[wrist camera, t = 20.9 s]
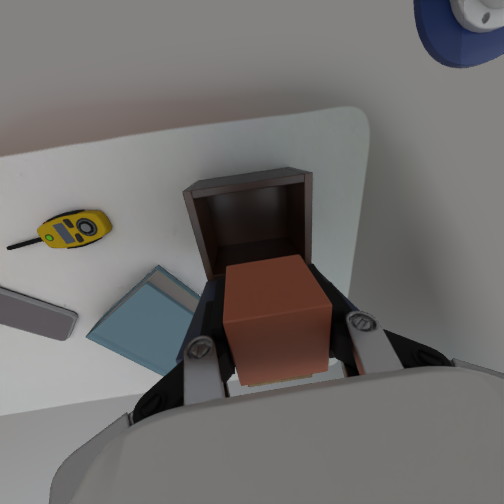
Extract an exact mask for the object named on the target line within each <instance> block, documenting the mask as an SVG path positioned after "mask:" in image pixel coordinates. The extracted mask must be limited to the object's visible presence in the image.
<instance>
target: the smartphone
mask: <svg viewBox="0 0 504 504" xmlns="http://www.w3.org/2000/svg"><path fill="white" fill-rule="evenodd" d="M76 320H77V315H76V314H75V313H73V312H71V311H68V310H65V309H62V308H59V307H56V306H53V305H50V304H47V303H44V302H41V301H38V300H35V299H32V298H29V297H26V296H23V295H20V294H17V293H14V292H11V291H8V290H5V289H2V288H0V324H2V325H6V326H9V327H13V328H16V329H20V330H23V331H27V332H30V333H34V334H37V335H41V336H44V337H48V338H51V339H55V340H59V341H65V340H67V339H68V337H69V336H70V335H71V332H72V330H73V327H74V325H75V323H76Z"/></svg>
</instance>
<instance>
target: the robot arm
mask: <svg viewBox="0 0 504 504" xmlns="http://www.w3.org/2000/svg"><path fill="white" fill-rule="evenodd" d="M450 4H451V9H452V12H453V14H454V16H455V18H456V20H457V21H458V22H459V23H460V25H461V26H462V27H463V28H465V29H467V30H469V31H471V32H476V33H484V32H490V31H493V30H496V29H498V28H501V27H503V26H504V0H450ZM307 267H308V268H309V270H310V272H311V273H312V275H313V276H314V278H315V279H316V281H317V282H318V284H319V285H320V287H321V288H322V290H323V291H324V293H325V294H326V296H327V297H328V299H329V301H330V302H331V304H332V316H331V331H330V347H329V358H334V357H335V358H336V359H338V360H340V361H341V366H342V370H343V373H344V377H345V378H341V379H335V380H329V381H323V382H317V383H310V384H304V385H298V386H292V387H286V388H281V389H274V390H268V391H263V392H257V393H251V394H245V395H239V396H234V397H230V393H229V388H228V384H227V381H228V380H229V378H230V377H231V376H232V374H235V363H234V360H233V357H232V353H231V350H230V346H229V343H228V339H227V336H226V332H225V329H224V325H223V312H224V297H225V282H226V277H224V278H218V279H217V281H216V288H215V296H214V300H212V301H207V302H206V305H205V311H204V316H203V321H202V327H201V332H200V336H198V337H196V338H194V339H192V340H191V341H190V342H189V343H188V344H187V346H186V348H185V350H184V359H183V360H182V361H181V362H180V363H179V364H177V365H176V366H175V367H174V368H173V369H172V370H171V371H170V372H169V373H167V374H166V375H165V376H164V377H163V378H162V379H161V380H160V381H159V382H157V383H156V384H155V385H154V386H153V387H152V388H151V389H150V390H149V391H147V392H146V393H145V394H144V395H143V396H142V397H141V398H140V400H139V401H138V403H137V404H136V406H135V408H134V410H133V411H132V412H131V413H129V414H128V413H127V412H126V413H125V414H124V415H122V416H121V417H120V418H118V419H117V420H116V421H114V422H113V423H112V424H110V425H109V426H108V427H106V428H105V429H104V430H102V431H101V432H100V433H98V434H97V435H96V436H94V437H93V438H92V439H91V440H89V441H88V442H87V443H85V444H84V445H82V446H81V447H80V448H78V449H77V450H76V451H74V452H73V453H72V454H71V455H70V456H69V457H68V458H67V459H66V460H65V461H64V462H63V464H62V465H61V466H60V467H59V469H58V470H57V472H56V474H55V476H54V478H53V480H52V484H51V488H50V498H49V504H504V373H501V372H497V371H494V370H491V369H487V368H484V367H481V366H477V365H474V364H471V363H467V362H464V361H461V360H458V359H454V358H453V359H452V361H451V360H448V359H447V358H446V357H445V356H444V355H443V354H442V353H440V352H438V351H437V350H435V349H433V348H431V347H428V346H426V345H423V344H420V343H418V342H415V341H413V340H410V339H408V338H405V337H403V336H400V335H397V334H395V333H392V332H390V331H387V330H384V329H382V327H381V325H380V323H379V321H378V320H377V319H376V318H375V317H374V316H372V315H371V314H369V313H366V312H363V311H353V310H352V309H351V307H350V306H349V305H348V304H347V302H346V301H345V300H344V298H343V297H342V296H341V294H340V293H339V292H338V290H337V289H336V288H335V286H334V285H333V284H332V283H331V282H326V281H325V279H324V278H323V276H322V275H321V274H320V272H319V271H318V270H317V268H316V267H315V265H314V264H307Z"/></svg>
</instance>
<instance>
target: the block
mask: <svg viewBox="0 0 504 504" xmlns="http://www.w3.org/2000/svg"><path fill="white" fill-rule="evenodd" d="M331 316H332V304H331V302H330V301H329V299H328V297H327V296H326V294H325V293H324V291H323V290H322V288H321V287H320V285H319V284H318V282H317V281H316V279H315V278H314V276H313V275H312V273H311V272H310V270H309V268H308V267H307V265H306V264H305V262H304V261H303V259H302V258H301V256H300V255H299V254H298V255H291V256H285V257H279V258H273V259H267V260H261V261H255V262H249V263H243V264H236V265H230V266H227V267H226V282H225V297H224V312H223V325H224V329H225V332H226V336H227V339H228V343H229V346H230V350H231V353H232V357H233V360H234V363H235V367H236V370H237V374H238V377H239V381H240V383H241V386H244V385H250V384H255V383H261V382H267V381H273V380H279V379H285V378H291V377H296V376H302V375H308V374H314V373H320V372H326V371H328V362H329V347H330V331H331Z"/></svg>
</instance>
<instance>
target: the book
mask: <svg viewBox="0 0 504 504" xmlns="http://www.w3.org/2000/svg"><path fill="white" fill-rule="evenodd" d="M200 298H201V297H200V296H199V295H197V294H196V293H195V292H193V291H192V290H191V289H189V288H188V287H187V286H185V285H184V284H183V283H182V282H180V281H179V280H178V279H176V278H175V277H174V276H172V275H171V274H170V273H168V272H167V271H166V270H164V269H163V268H162V267H161V266H159V265H158V266H157V267H156V268H155V269H154V270H153V271H152V272H151V273H149V274H148V275H147V276H146V277H145V278H144V279H143V280H142V281H141V282H140V283H138V284H137V285H136V286H135V287H134V288H133V289H132V290H131V291H130V292H129V293H127V294H126V295H125V296H124V297H123V298H122V299H121V300H120V301H119V302H118V303H116V304H115V305H114V306H113V307H112V308H111V309H110V310H109V311H108V312H107V313H105V314H104V315H103V317H102V318H101V319H100V320H99V321H98V322H97V323H96V324H95V326H94V327H93V328H92V329H91V331H90V332H89V333H88V334H87V335H86V338H88V339H90V340H92V341H94V342H96V343H98V344H100V345H102V346H104V347H106V348H108V349H110V350H112V351H114V352H116V353H118V354H120V355H122V356H124V357H126V358H128V359H130V360H132V361H134V362H136V363H138V364H140V365H142V366H144V367H146V368H148V369H150V370H152V371H154V372H156V373H158V374H160V375H162V376H165V375H166V374H167V373H169V372H170V371H171V370H172V369H173V368H174V367H175V366H176V365H177V363H176V357H177V355H178V353H179V350H180V348H181V345H182V343H183V340H184V338H185V335H186V333H187V330H188V328H189V325H190V323H191V320H192V318H193V315H194V313H195V310H196V308H197V305H198V303H199V300H200Z"/></svg>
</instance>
